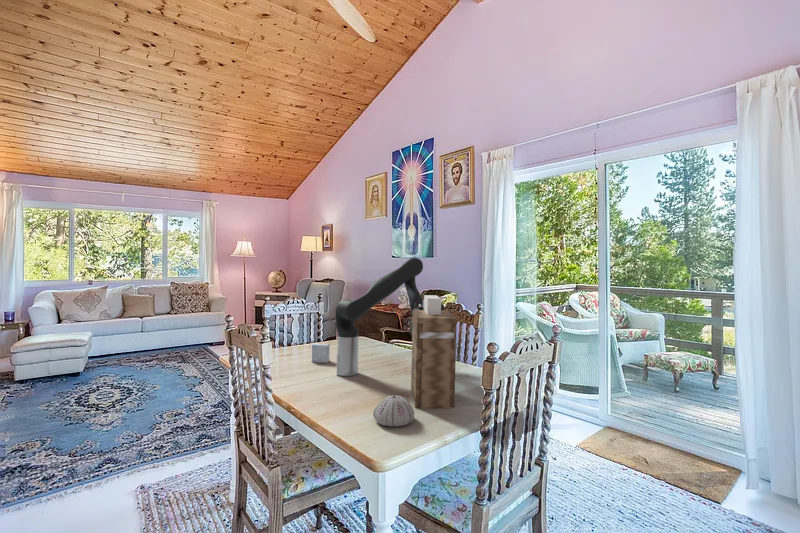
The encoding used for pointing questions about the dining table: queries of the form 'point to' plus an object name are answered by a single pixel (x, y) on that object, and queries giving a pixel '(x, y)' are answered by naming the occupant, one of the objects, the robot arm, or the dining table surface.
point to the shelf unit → (433, 360)
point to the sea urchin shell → (394, 411)
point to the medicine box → (320, 353)
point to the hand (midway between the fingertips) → (428, 302)
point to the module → (432, 304)
